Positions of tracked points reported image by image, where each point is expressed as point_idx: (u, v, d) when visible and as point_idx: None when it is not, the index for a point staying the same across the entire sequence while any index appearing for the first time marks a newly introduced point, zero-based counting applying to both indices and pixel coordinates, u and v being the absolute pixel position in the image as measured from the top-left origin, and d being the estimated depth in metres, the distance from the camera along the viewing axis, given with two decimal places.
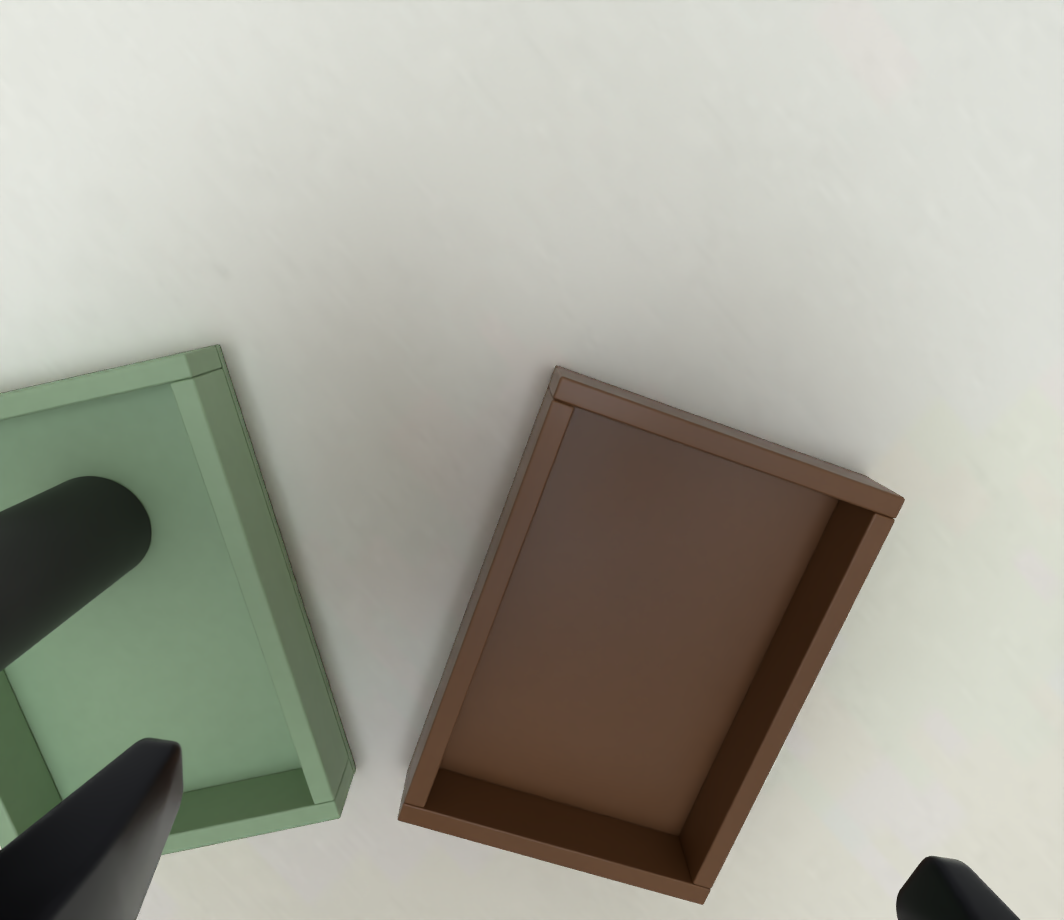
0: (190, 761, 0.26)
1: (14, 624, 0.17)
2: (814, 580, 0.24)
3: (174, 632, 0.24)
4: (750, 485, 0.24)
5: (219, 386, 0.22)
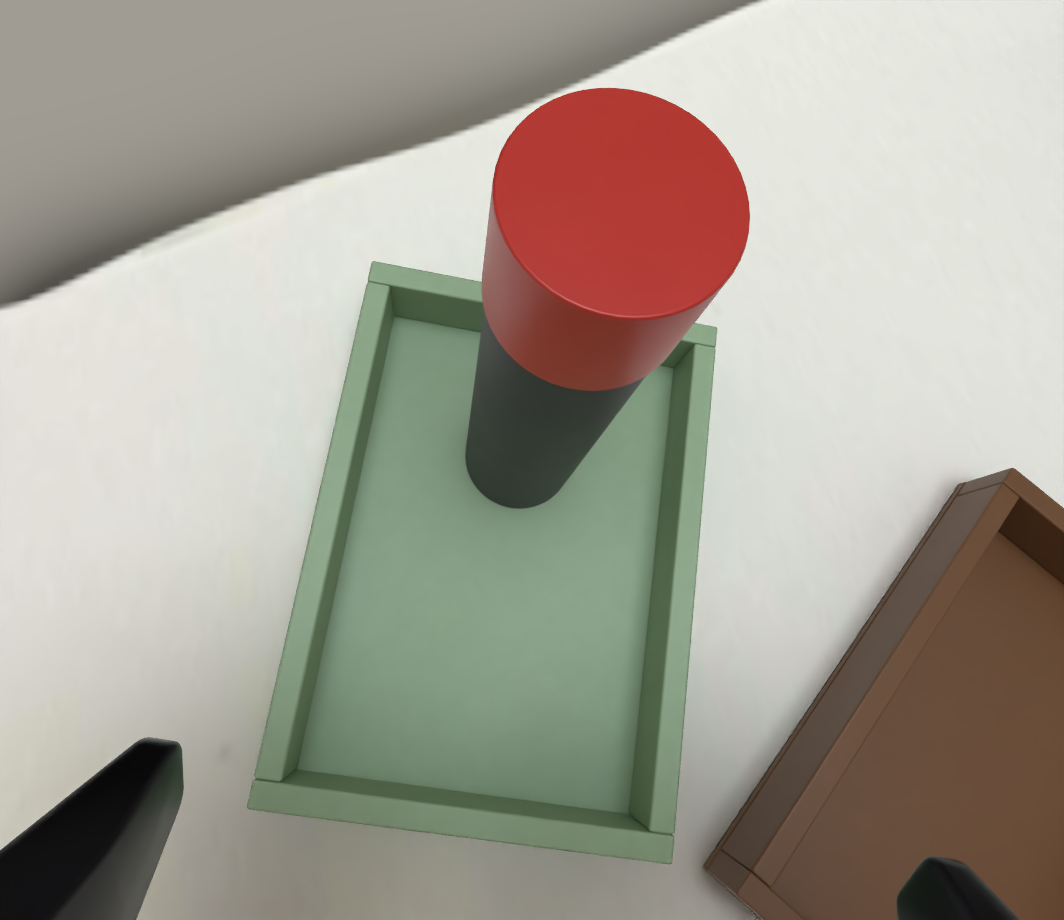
0: (474, 750, 0.21)
1: None
2: None
3: (535, 588, 0.22)
4: None
5: None
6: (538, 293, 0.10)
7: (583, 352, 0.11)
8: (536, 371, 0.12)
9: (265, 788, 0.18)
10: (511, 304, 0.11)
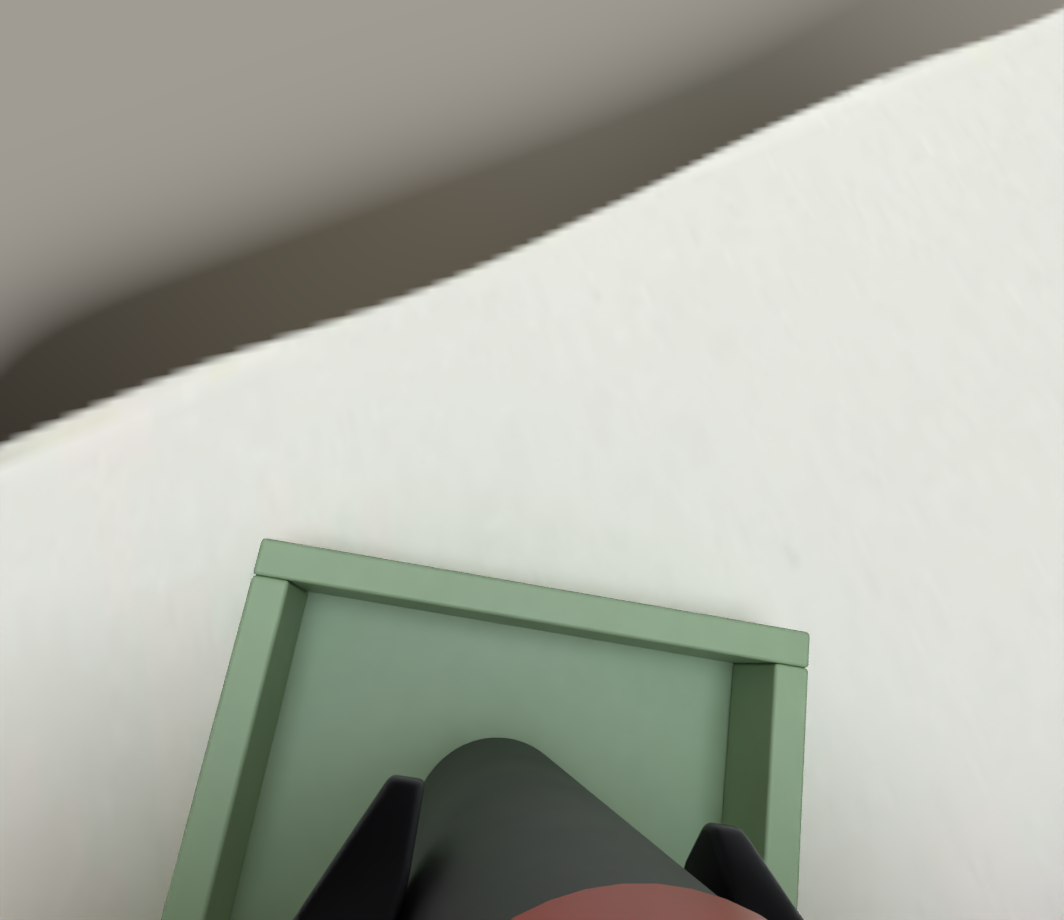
0: None
1: None
2: None
3: None
4: None
5: None
6: None
7: None
8: None
9: None
10: None
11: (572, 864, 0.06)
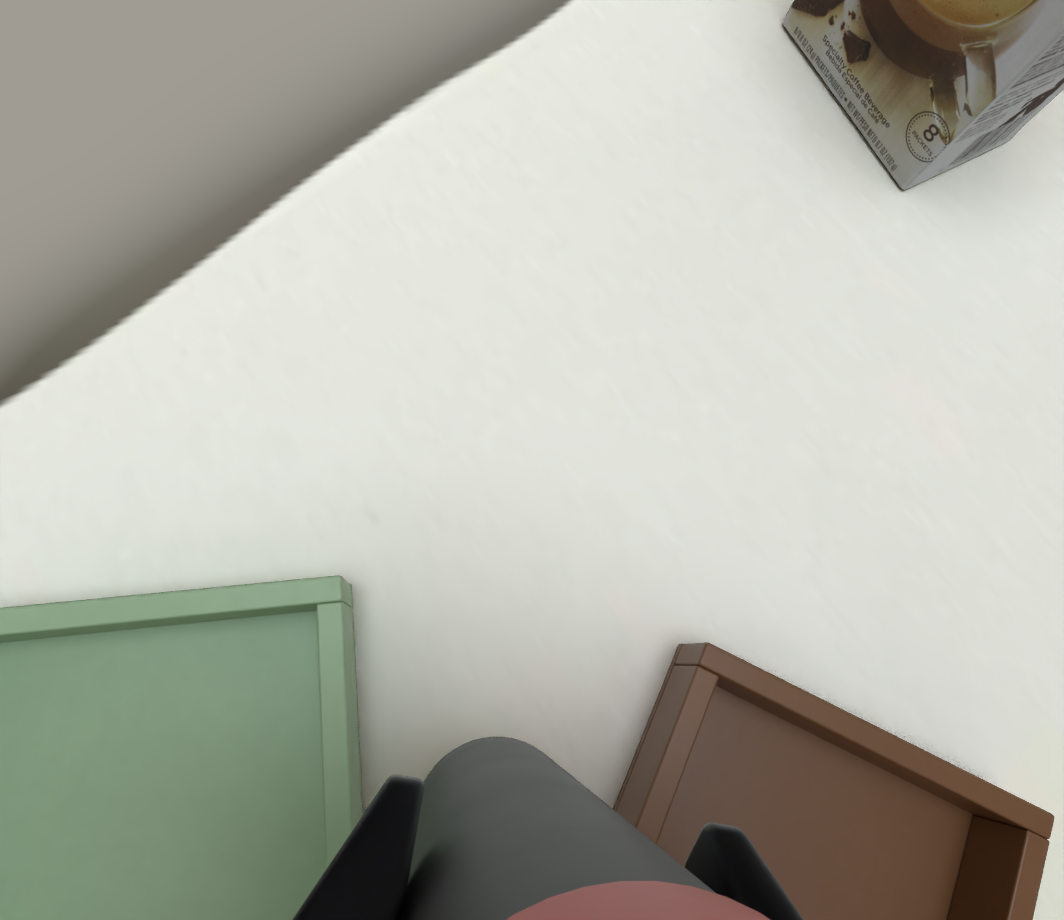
0: None
1: None
2: None
3: None
4: (878, 797, 0.22)
5: (349, 622, 0.21)
6: None
7: None
8: None
9: None
10: None
11: (571, 864, 0.06)
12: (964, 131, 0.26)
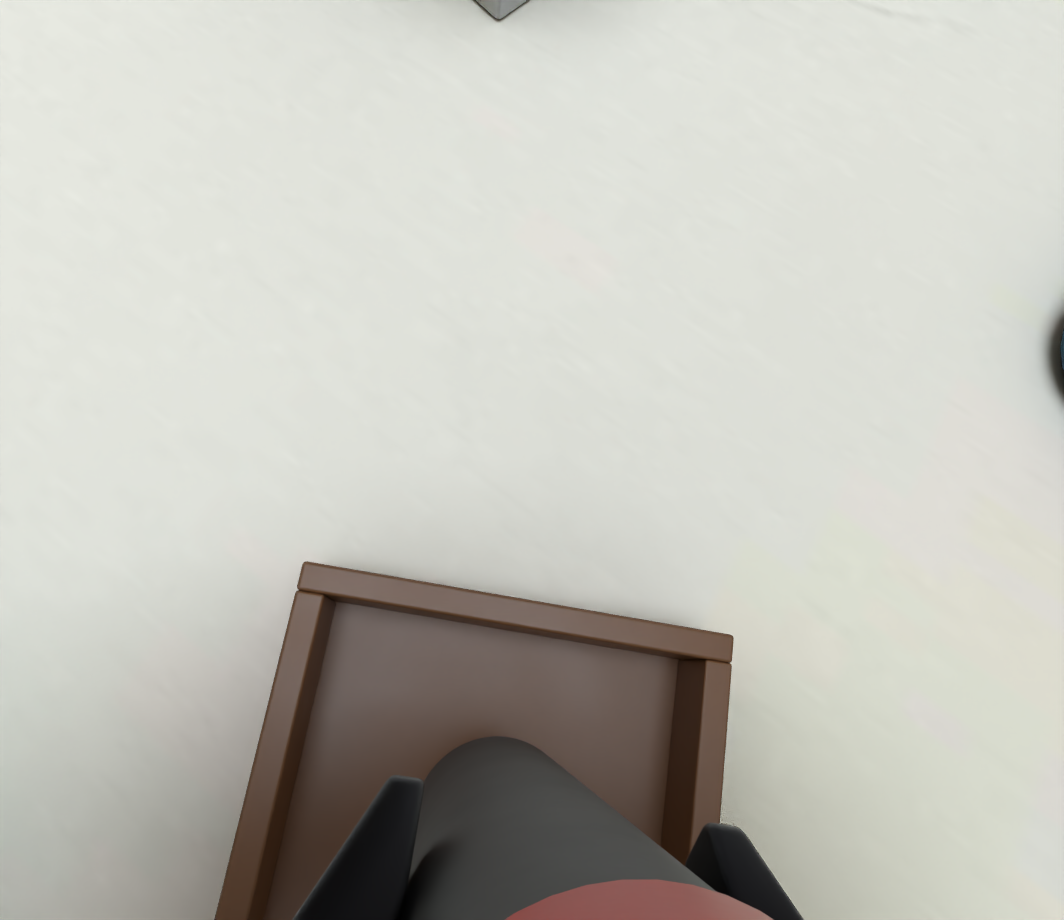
0: None
1: None
2: (676, 776, 0.19)
3: None
4: (570, 673, 0.20)
5: None
6: None
7: None
8: None
9: None
10: None
11: (572, 862, 0.06)
12: None
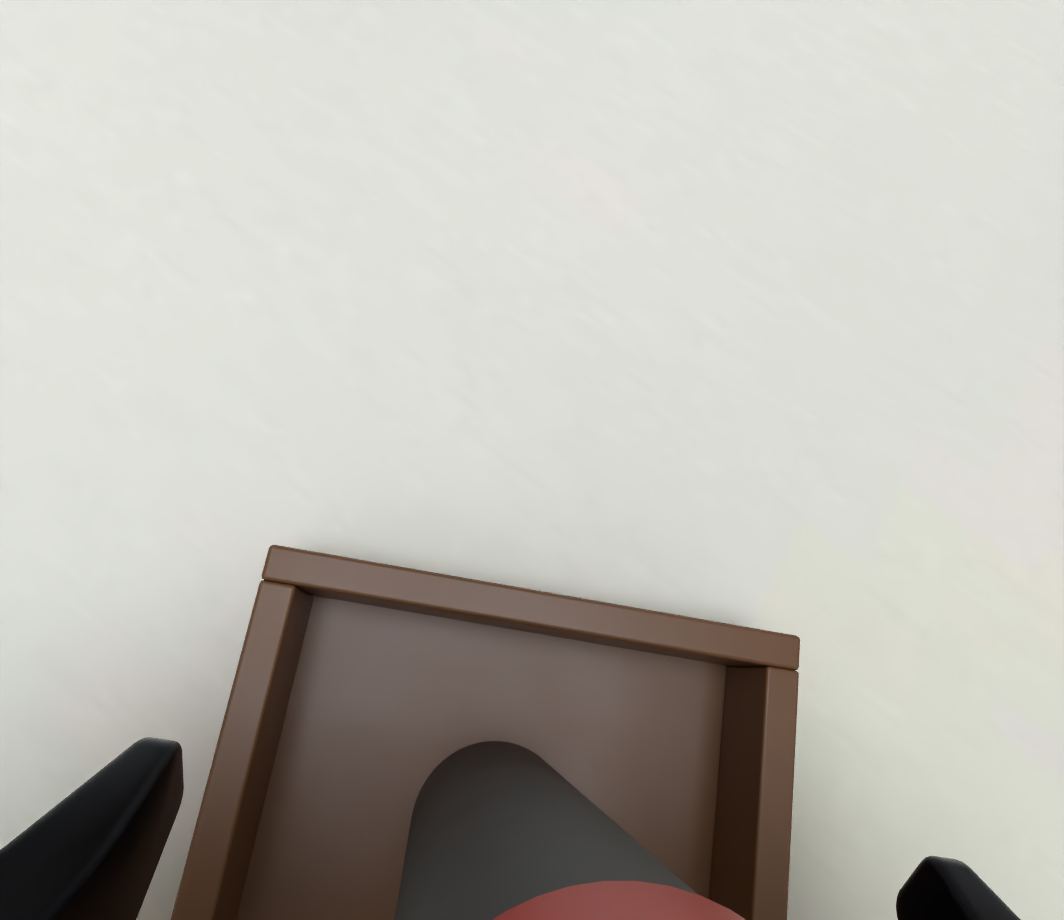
0: None
1: None
2: (729, 810, 0.15)
3: None
4: (597, 682, 0.16)
5: None
6: None
7: None
8: None
9: None
10: None
11: (561, 865, 0.06)
12: None
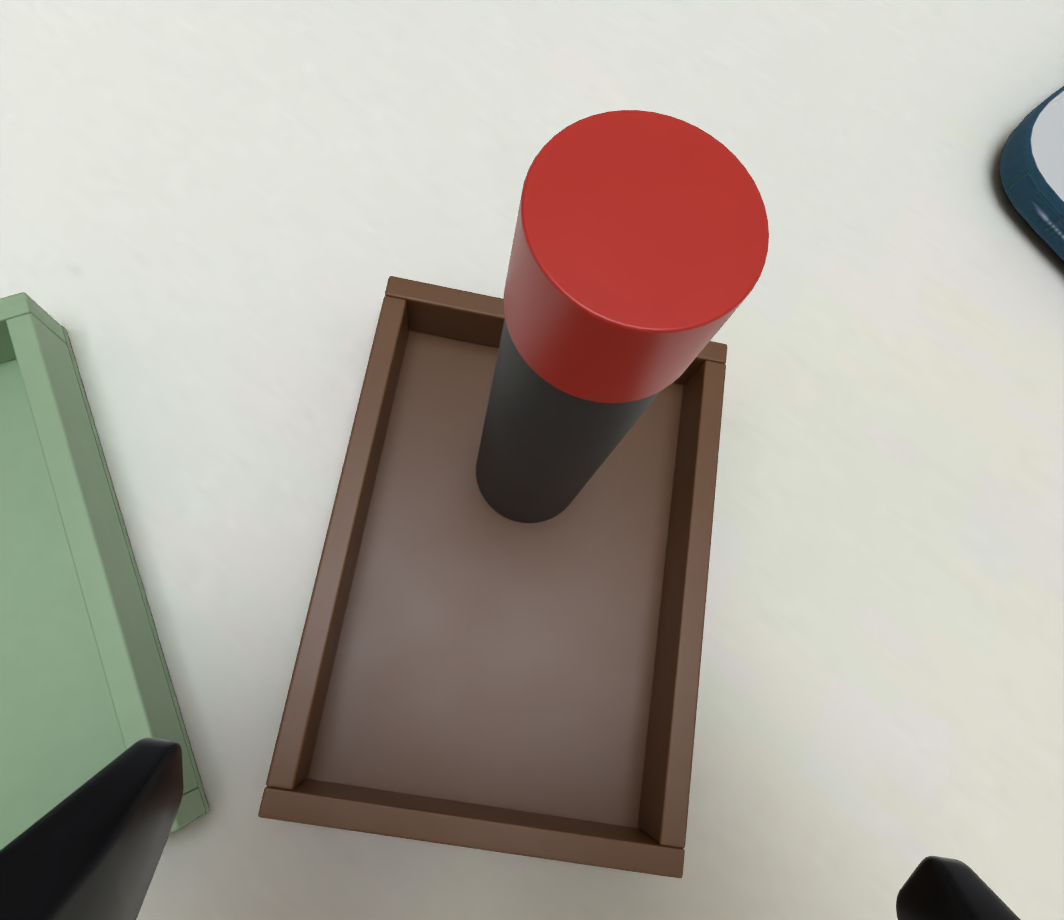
0: None
1: None
2: (682, 459, 0.24)
3: None
4: None
5: (60, 348, 0.22)
6: (564, 305, 0.10)
7: (606, 364, 0.11)
8: (557, 383, 0.12)
9: None
10: (535, 316, 0.11)
11: None
12: None
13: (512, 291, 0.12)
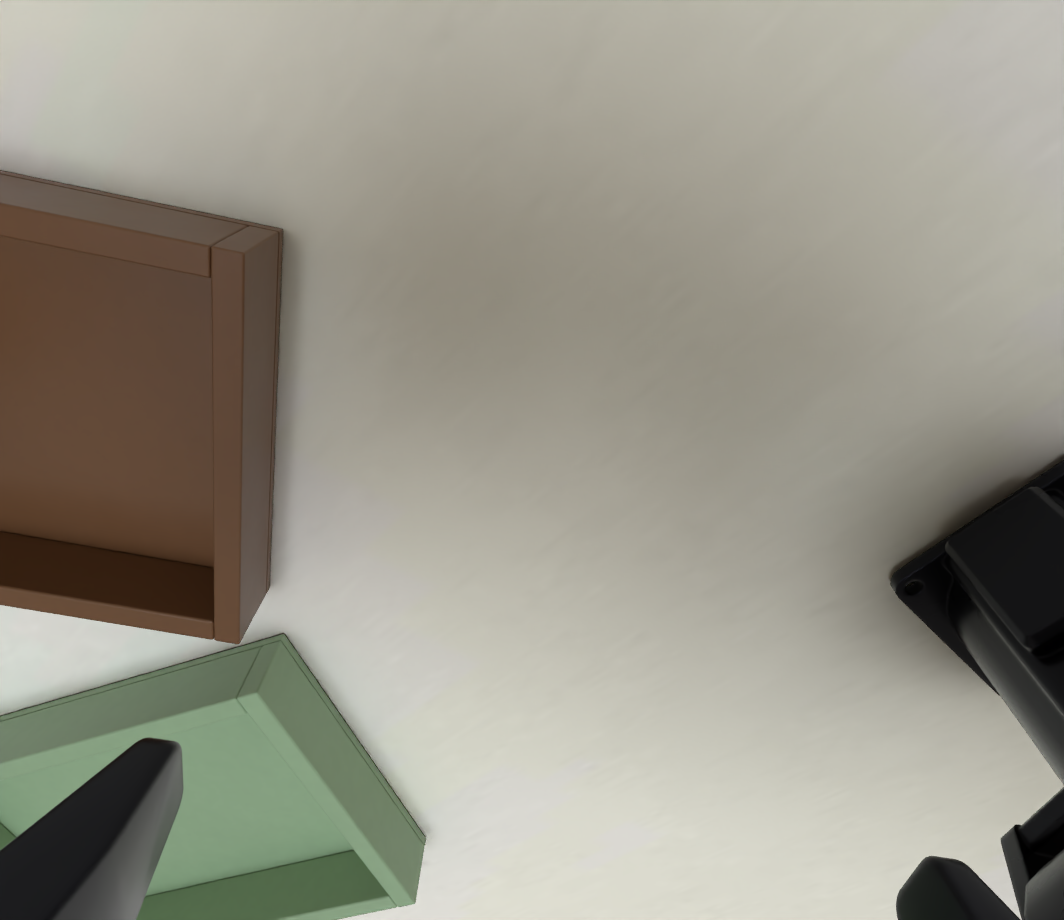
0: None
1: None
2: None
3: None
4: None
5: None
6: None
7: None
8: None
9: (398, 901, 0.26)
10: None
11: None
12: None
13: None
